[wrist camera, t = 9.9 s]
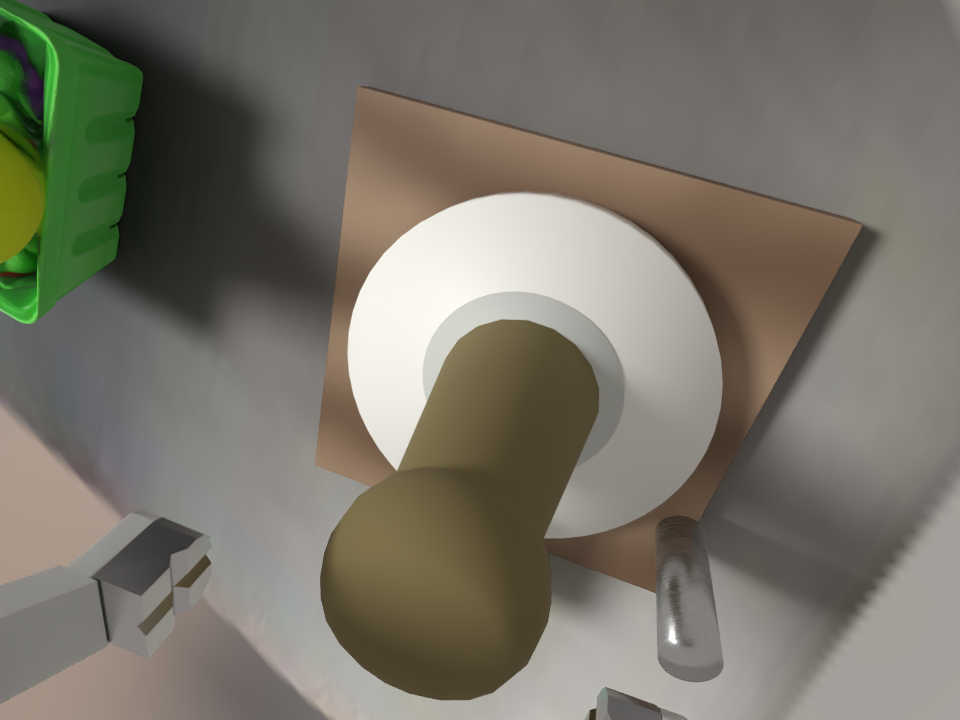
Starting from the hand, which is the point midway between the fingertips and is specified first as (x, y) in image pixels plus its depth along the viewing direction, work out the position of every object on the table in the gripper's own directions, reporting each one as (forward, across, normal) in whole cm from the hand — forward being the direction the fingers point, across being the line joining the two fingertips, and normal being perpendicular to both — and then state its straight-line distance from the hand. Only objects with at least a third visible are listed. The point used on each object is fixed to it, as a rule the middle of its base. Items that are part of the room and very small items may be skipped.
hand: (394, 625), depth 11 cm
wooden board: (+14, -1, +1) cm, 14 cm away
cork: (+11, -1, +1) cm, 11 cm away
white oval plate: (+12, -1, +3) cm, 13 cm away
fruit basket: (+14, +20, -2) cm, 25 cm away
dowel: (+13, -9, +6) cm, 17 cm away
